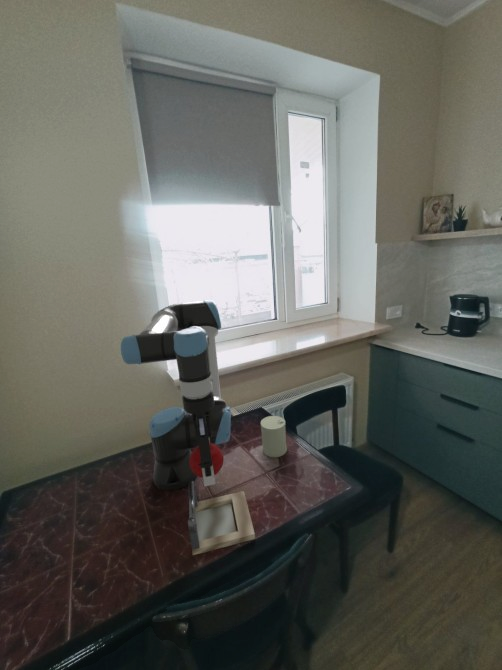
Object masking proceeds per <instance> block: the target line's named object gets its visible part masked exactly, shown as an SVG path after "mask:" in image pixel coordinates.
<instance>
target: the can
mask: <svg viewBox="0 0 502 670" xmlns="http://www.w3.org/2000/svg"><path fill="white" fill-rule="evenodd" d="M260 428H261V429H260V431H261V442H262V453H263V454H264V455H265V456H267V457H269V458H279V457H282V456H284V455H285V454H286V453H287V451H288V445H287V432H286V420H285V419H284V418H283V417H281V416H279V415H268V416H266V417H264V418H262V419H261V421H260Z"/></svg>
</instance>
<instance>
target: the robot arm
mask: <svg viewBox="0 0 502 670" xmlns="http://www.w3.org/2000/svg"><path fill="white" fill-rule="evenodd" d="M220 329H222V323H221V317H220V313H219V309H218V306H217V304H216V302H215V301H214V300H201V301H193V302H191V301H190V302H181V303H174V304H170V305H168V306H165V307H164V308H162V309H160V310H158V311H157V312H156V313H154V315H153V316H152V317H151V322H150V323H149V324H148V325H147V326H146V327H145V328H144V329H143V330H142V331H141V332H140V333H139V334H132V335H128V336H125V337H123V338H122V339H121V342H120V355H121V358H122V360H123V362H124V363H125V365H126V364H127V365H142V364H150V363H158V362H166V361H176V364H177V365H176V366H177V370H178V381H179V387H180V393H181V396H182V397H181V399H182V405H183V407H179V406H172V407H168V408H165V409H163V410H160V411H158V413H156V414H155V415H154V416H153V417H152V418H151V419H150V421H149V436H150V439H151V445H152V449H153V455H154V466H153V467H154V468H153V472H152V480H153V484H154V485H155V487H156V488H158V489H159V490H162V491H165V492H169V491H176V490H180V489H182V488H185V487H187V486H189V482H190V481H194V480H195V479H196V478H197V477H198V476H197V475H195V474H194V473H193V472H192V470H191V468H190V463H189V461H190V456H191V454H192V452H193V451H191V449H195V448H196V447H198V446H199V450H200V458H201V463H198V465H199V466H201V467H202V473H203V479H202V480H203V485H204V487H209V486H211V485H212V486H213V485H216V479H215V475H214V470H213V462H212V459H211V452H210V444H209V443H211V444H214V445H216V446H218V445H221V444H226V443H228V442H229V441H230V439H231V420H232V419H231V415H232V414H231V413H232V412H231V407H230V406H229V405H227V403H226V401H225V399H223V398H222V397H221V395H222V394H221V387H220V375H219V365H218V357H217V355H218V354H217V348H216V347H217V346H216V336H217V335H218V334H219V330H220Z"/></svg>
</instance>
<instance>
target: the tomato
mask: <svg viewBox="0 0 502 670" xmlns="http://www.w3.org/2000/svg"><path fill="white" fill-rule="evenodd" d="M209 444H210V452H211V459H212V462H213V470H214V476H215V475H217V474H218V473H219V472H220V471H221V469H222V467H223V465H224V462H225V461H224V460H225V459H224V454H223V452H222V450H221V448H220V447H218V445H214V444H211V443H209ZM193 449H194V450H193V451H191V452H192V454H191V456H190V461H189V463H190V468H191V470H192V472H193V473H194V474H195V475H197V476H196V477H199V478H203V473H202V467H201V466H199V465H198V463H201V458H200V450H199V446H198V447H196V448H193Z"/></svg>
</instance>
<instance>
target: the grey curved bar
mask: <svg viewBox="0 0 502 670" xmlns="http://www.w3.org/2000/svg"><path fill="white" fill-rule="evenodd" d="M196 490H197V489H196V485H195V481H194V480H193V481H190V482H189V484H188V519H187V527H188V533H189V537H190V539H189V540H190V545H191V551H192V550H194V549H198V548H200V545H199V536H198V530H197V524H196V515H195V507H198V503H197V502H198V497H197V491H196Z"/></svg>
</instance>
